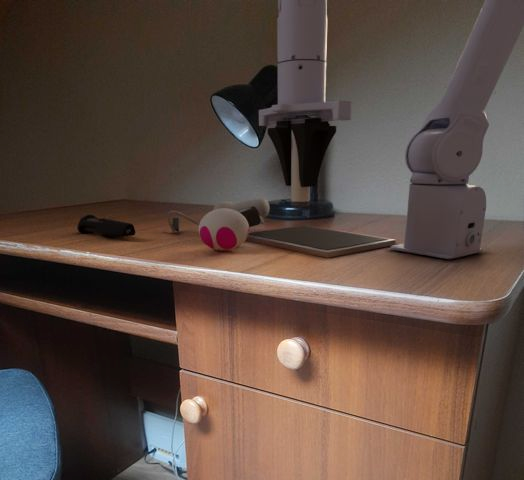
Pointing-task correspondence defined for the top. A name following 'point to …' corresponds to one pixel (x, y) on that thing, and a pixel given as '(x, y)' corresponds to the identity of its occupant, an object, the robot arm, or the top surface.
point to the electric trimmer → (105, 227)
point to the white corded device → (249, 209)
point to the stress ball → (223, 229)
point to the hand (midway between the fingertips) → (300, 186)
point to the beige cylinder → (297, 179)
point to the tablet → (319, 240)
